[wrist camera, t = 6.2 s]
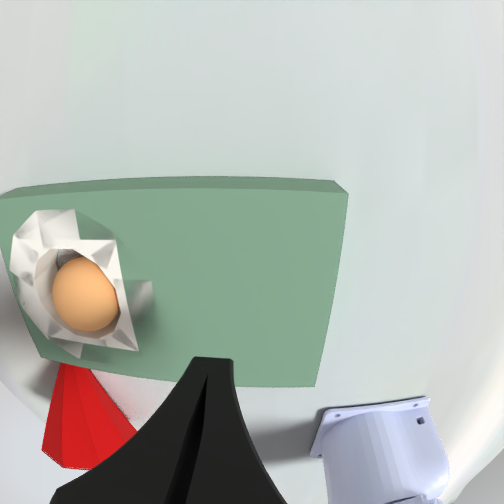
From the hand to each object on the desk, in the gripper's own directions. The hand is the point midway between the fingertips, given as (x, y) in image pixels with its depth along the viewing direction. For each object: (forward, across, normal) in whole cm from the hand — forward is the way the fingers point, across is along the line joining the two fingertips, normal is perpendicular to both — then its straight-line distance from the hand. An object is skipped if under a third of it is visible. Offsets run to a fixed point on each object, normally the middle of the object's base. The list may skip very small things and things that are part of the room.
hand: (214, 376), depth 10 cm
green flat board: (+7, +4, 0) cm, 8 cm away
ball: (+5, +8, 0) cm, 9 cm away
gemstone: (+7, +12, +11) cm, 18 cm away
